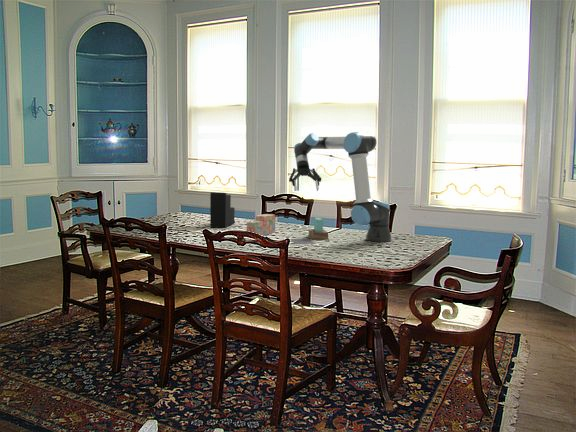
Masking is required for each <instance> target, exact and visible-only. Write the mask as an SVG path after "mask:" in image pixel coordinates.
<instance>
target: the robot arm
mask: <svg viewBox="0 0 576 432" xmlns="http://www.w3.org/2000/svg"><path fill="white" fill-rule="evenodd" d="M377 143H378V142H377V138H376V136H374V134H373V133H370V132H363V131H361V132H360V131H354V132H349V133H347V135H346V136H318V135H317V134H315V133H313V132H311V133H309V134H308V135H307V136H306V137H305V138H304V139H303V141H302V142H298V143H296V144H295V145H294V147H293V150H294V151H293V152H294V157H295V162H296V168H295V167H293V169H292V173H291V174H290V177H289V178H288V182H289V183H291V184H292V186H293V187H294V192H297V190H298V187H297V179H299V178H300V177H306V176H307V177H308V178H310V179H312V180H313V181H314V182H315V188H316V191H317V192H318V191H319V188H320V187H319V186H320V183H321V182H322V177H321V176H320V175H319V174H318V172H317V171H316V170H315V168H312V169H311V168H310V164H309V159H308V158H309V157H308V154H309V152H311V151H312V150H316V149H318V150H321V149H322V150H329V149H330V150H331V149H332V150H333V149H335V150H337V149H338V150H343V149H344V151H345V152H347V154H348V158H350V159H351V166H352V174H353V175H352V176H353V183H354V194H355V201H354V202H353V207H352V208H351V210H350V218H351V220H352V222H354V223H355V224H356V225H358V226H368V230H367V233H366V236H365V240H366V241H368V242H377V243H387V242H391V241H392V234H391V232H390V228H389V226H390V211H391V209H390V203H388V202H383V201H382V202H380V201H374V199H372V198H371V188H370V181H369V180H370V179H369V172H368V161H367V160H368V159H367V157H368V155H369V152H372V151H374V149H376V147H377ZM296 172H297V173H296Z"/></svg>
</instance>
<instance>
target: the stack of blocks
mask: <svg viewBox="0 0 576 432" xmlns="http://www.w3.org/2000/svg"><path fill="white" fill-rule="evenodd" d="M247 231H250V232H254V233H257V234H260V235H263V236H262V237H265V236H264V235H266V236H268V235H267V234H270V235H273V234H272V233H276V214H272V213H271V214H270V213H264V214H258V215H256V216H255V220H251V221H246V232H247Z"/></svg>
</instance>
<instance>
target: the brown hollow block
mask: <svg viewBox="0 0 576 432" xmlns="http://www.w3.org/2000/svg"><path fill="white" fill-rule="evenodd" d="M307 236H308V238H309V239H310V240H312V241H315V240H316V241H317V240H318V241H319V240H320V241H321V240H329V239H330V237H329V232H328V231H326V230H325V229H324V228H323V232H315V231H314V228H313V229H308V235H307Z"/></svg>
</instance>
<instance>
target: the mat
mask: <svg viewBox="0 0 576 432" xmlns="http://www.w3.org/2000/svg"><path fill="white" fill-rule="evenodd" d="M289 240H290V241H291V242H292V243H293V244H294V245H311V244H312V245H315V244H316V243H315V242H314V240H312V239H311V238H290V239H289Z"/></svg>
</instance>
